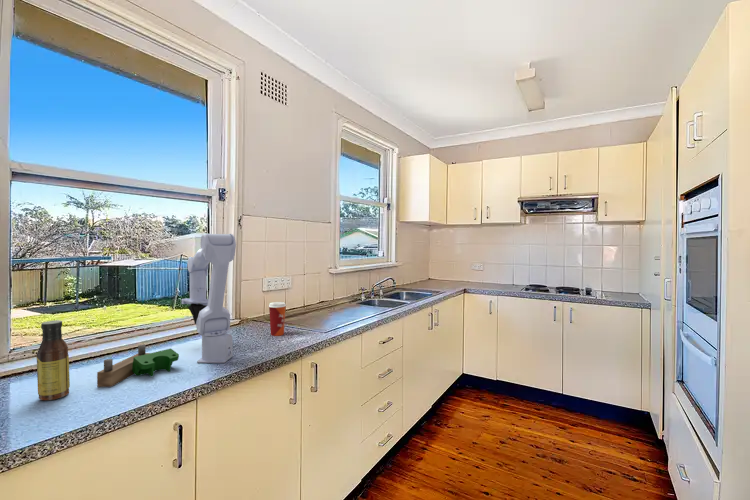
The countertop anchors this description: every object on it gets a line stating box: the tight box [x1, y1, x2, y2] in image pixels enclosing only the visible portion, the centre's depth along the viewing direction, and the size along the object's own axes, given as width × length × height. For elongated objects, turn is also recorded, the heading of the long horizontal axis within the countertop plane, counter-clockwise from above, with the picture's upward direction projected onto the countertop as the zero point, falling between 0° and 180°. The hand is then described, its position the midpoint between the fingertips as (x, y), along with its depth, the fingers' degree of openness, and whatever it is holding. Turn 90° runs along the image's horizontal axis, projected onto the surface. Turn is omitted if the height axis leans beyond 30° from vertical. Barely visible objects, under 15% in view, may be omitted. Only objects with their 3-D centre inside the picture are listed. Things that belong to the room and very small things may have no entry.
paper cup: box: [268, 301, 287, 337], centre depth 161 cm, size 8×8×14 cm
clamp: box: [132, 348, 180, 378], centre depth 113 cm, size 12×6×9 cm, turn 141°
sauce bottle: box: [36, 319, 71, 402], centre depth 94 cm, size 7×6×20 cm
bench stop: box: [96, 343, 151, 388], centre depth 110 cm, size 4×18×7 cm, turn 0°
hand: (198, 323), depth 139 cm, fingers closed
